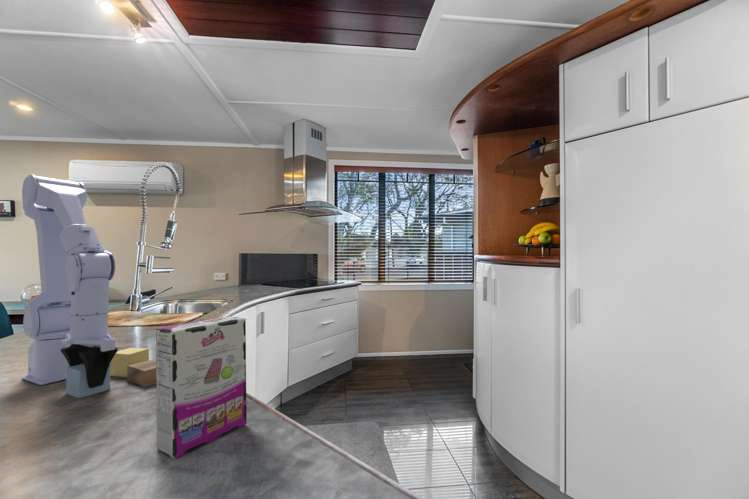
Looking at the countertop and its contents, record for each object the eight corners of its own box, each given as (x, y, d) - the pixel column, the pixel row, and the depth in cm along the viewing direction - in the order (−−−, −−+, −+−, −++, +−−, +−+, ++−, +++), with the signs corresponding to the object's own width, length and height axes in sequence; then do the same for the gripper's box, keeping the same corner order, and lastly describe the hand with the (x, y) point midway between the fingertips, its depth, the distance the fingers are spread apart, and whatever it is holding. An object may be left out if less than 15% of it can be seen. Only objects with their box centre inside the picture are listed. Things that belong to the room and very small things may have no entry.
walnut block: (127, 382, 73) (127, 365, 73) (161, 372, 79) (161, 357, 79) (144, 388, 69) (144, 370, 69) (178, 378, 75) (179, 361, 75)
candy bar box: (227, 417, 56) (228, 315, 56) (247, 425, 53) (248, 317, 53) (152, 450, 46) (154, 326, 47) (172, 461, 44) (174, 330, 44)
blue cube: (66, 393, 66) (66, 367, 66) (96, 385, 70) (97, 360, 71) (79, 398, 64) (79, 371, 64) (109, 389, 68) (110, 363, 68)
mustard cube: (110, 376, 76) (110, 353, 77) (130, 369, 81) (131, 347, 81) (128, 377, 75) (129, 354, 75) (148, 370, 80) (148, 348, 80)
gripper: (46, 314, 67) (44, 384, 67) (83, 319, 61) (82, 397, 60) (89, 309, 74) (88, 373, 73) (127, 314, 67) (126, 384, 67)
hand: (88, 384), depth 67 cm, fingers closed on blue cube, 5 cm apart
